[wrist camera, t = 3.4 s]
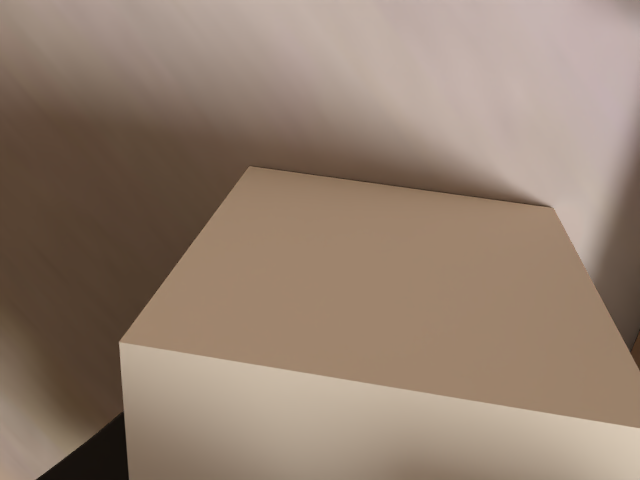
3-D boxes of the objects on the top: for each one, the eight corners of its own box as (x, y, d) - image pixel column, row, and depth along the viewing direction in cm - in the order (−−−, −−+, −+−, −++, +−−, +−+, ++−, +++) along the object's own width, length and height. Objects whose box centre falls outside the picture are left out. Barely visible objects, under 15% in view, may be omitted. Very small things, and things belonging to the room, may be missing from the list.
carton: (456, 538, 13) (478, 838, 9) (233, 497, 14) (146, 763, 9) (552, 208, 10) (673, 433, 5) (246, 165, 10) (113, 341, 6)
